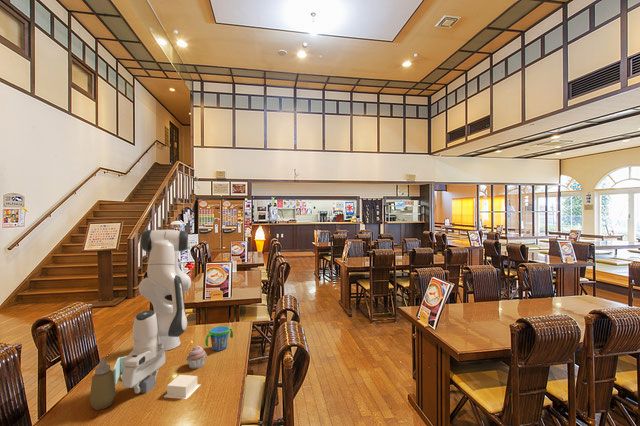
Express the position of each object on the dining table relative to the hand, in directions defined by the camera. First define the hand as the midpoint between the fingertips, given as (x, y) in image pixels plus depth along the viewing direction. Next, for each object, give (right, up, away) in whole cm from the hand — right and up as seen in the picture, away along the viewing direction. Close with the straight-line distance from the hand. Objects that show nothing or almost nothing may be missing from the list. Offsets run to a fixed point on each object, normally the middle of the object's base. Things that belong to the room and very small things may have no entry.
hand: (145, 386), depth 123 cm
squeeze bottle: (-11, -2, -9) cm, 14 cm away
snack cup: (+17, -2, +39) cm, 42 cm away
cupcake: (+13, -2, +19) cm, 23 cm away
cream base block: (+16, -1, -2) cm, 16 cm away
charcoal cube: (0, -2, 0) cm, 2 cm away
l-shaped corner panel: (-13, -3, +12) cm, 18 cm away
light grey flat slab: (+15, -2, -1) cm, 15 cm away
